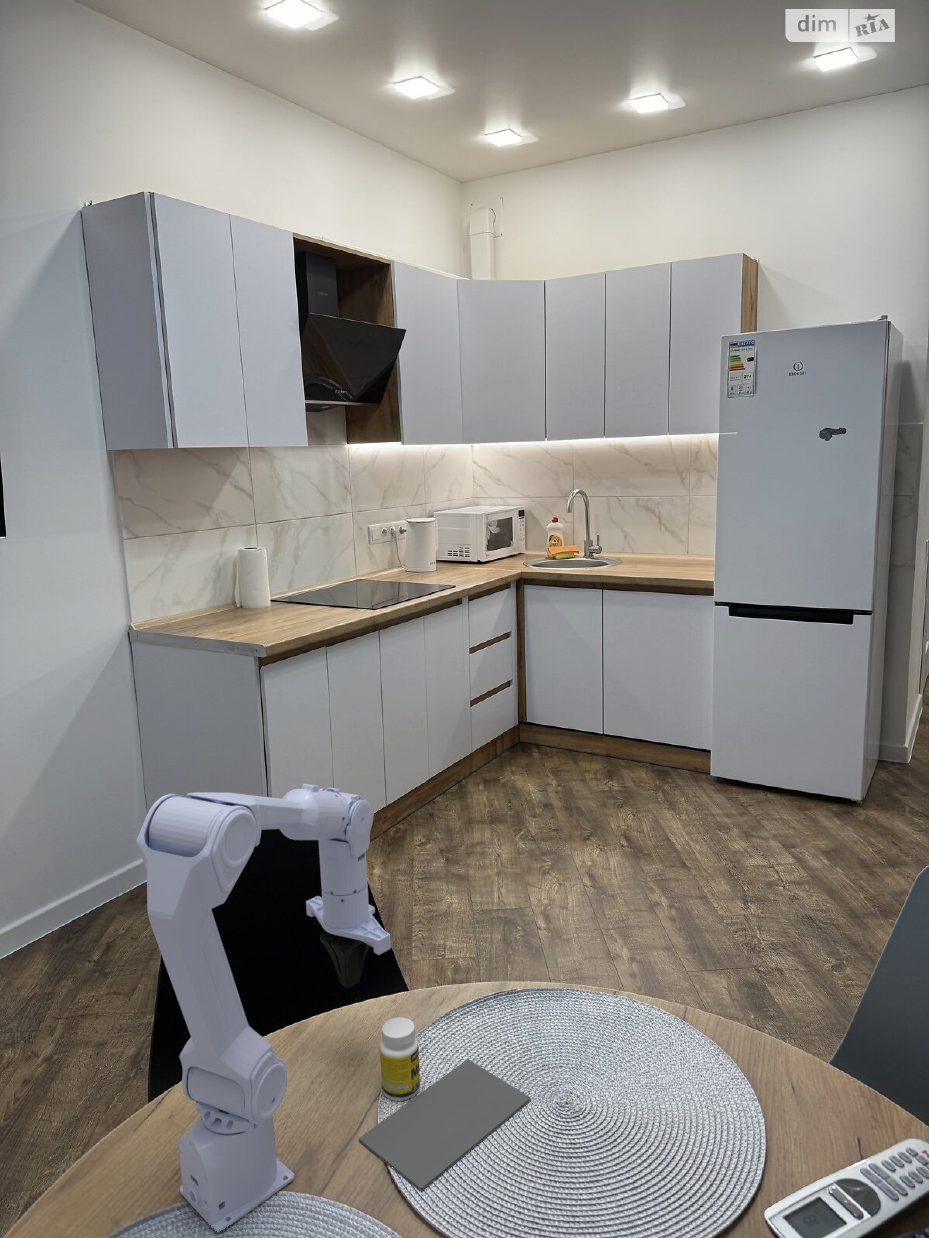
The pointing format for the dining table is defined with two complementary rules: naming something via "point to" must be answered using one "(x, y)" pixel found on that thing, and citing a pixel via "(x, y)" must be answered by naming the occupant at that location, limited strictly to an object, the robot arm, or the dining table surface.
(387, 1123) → the mat
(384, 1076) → the supplement bottle
